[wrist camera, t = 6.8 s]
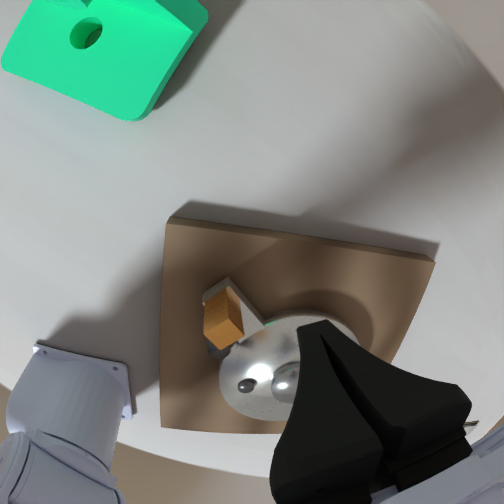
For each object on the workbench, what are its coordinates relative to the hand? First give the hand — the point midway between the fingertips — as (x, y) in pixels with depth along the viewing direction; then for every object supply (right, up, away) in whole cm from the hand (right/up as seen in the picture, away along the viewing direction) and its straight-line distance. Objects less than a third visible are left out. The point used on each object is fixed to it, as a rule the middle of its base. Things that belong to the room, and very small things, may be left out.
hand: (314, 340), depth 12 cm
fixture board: (0, -5, +12) cm, 13 cm away
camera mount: (-12, +17, +2) cm, 21 cm away
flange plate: (-1, -4, +10) cm, 11 cm away
